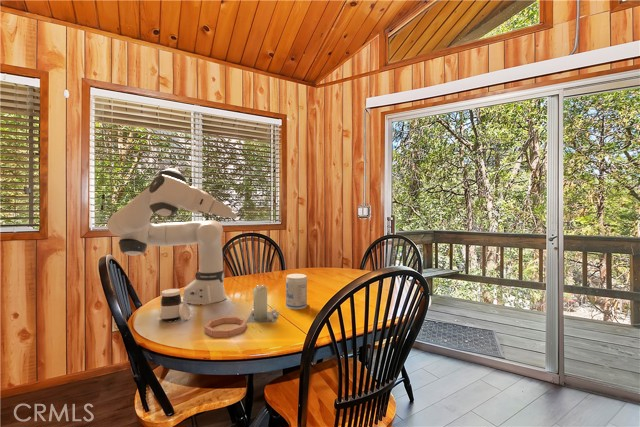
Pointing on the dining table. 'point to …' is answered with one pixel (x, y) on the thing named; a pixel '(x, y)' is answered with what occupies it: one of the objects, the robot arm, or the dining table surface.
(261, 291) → the pebble cup
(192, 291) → the robot arm
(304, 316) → the dining table surface
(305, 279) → the supplement tub
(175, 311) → the spread jar
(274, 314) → the parts board
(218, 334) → the bowl
